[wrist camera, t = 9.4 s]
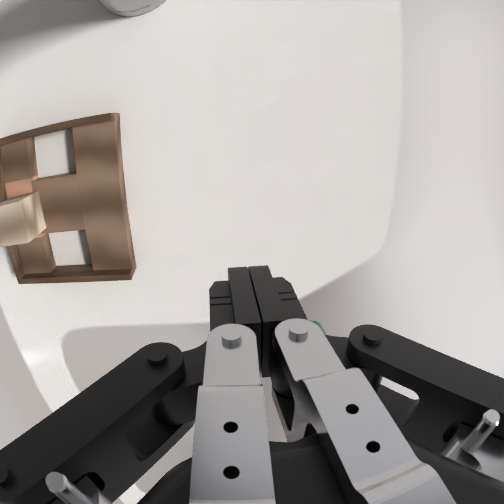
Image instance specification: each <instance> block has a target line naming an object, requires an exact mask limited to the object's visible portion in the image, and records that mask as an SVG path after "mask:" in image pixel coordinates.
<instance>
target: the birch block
mask: <svg viewBox="0 0 504 504" xmlns="http://www.w3.org/2000/svg"><path fill="white" fill-rule="evenodd" d="M45 229H46V224H45V220H44V215H43V211H42V206H41V201H40V196H39V191H35V192H30V193H26V194H22V195H18V196H14V197H10V198H8V199H6V200H5V201H3V202H1V203H0V247H4V246H11V245H17V244H24V243H29V242H30V241H31V240H33V239H34V238H35V237H36V236H37V235H39V234H40V233H41V232H42V231H43V230H45Z"/></svg>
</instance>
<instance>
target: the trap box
mask: <svg viewBox="0 0 504 504" xmlns="http://www.w3.org/2000/svg"><path fill="white" fill-rule="evenodd" d="M69 128H72V130H73V143H74V155H75V164H76V172H74V173H68V174H62V175H56V176H50V177H44V178H39V179H38V172H37V164H36V155H35V145H34V136H38V135H42V134H46V133H50V132H55V131H59V130H64V129H69ZM35 191H39V196H40V201H41V206H42V211H43V215H44V220H45V224H46V229H45V230H43V231H42V232H41V233H40V234H39V235H37V236H36V237H35V238H34V239H33V240H31V241H30V242H29V243H24V244H17V245H11V246H8V250H9V254H10V257H11V261H12V264H13V267H14V271H15V274H16V277H17V280H18V283H19V284H34V283H66V282H93V281H117V280H131V279H132V276H133V274H134V272H135V269H136V262H135V256H134V250H133V244H132V237H131V231H130V224H129V216H128V209H127V201H126V192H125V183H124V173H123V162H122V150H121V135H120V115H119V113H108V114H102V115H96V116H90V117H85V118H80V119H75V120H70V121H65V122H61V123H56V124H52V125H48V126H44V127H40V128H36V129H32V130H28V131H25V132H21V133H18V134H14V135H11V136H7V137H4V138H1V139H0V203H1V202H3V201H5V200H6V199H8V198H10V197H14V196H18V195H22V194H26V193H30V192H35ZM74 230H85V232H86V237H87V242H88V247H89V251H90V256H91V261H92V264H87V265H69V266H56V263H55V260H54V256H53V252H52V248H51V243H50V239H49V235H48V233H53V232H64V231H74Z"/></svg>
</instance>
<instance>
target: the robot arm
mask: <svg viewBox="0 0 504 504" xmlns="http://www.w3.org/2000/svg"><path fill="white" fill-rule="evenodd" d="M99 1H100V2H101V3H102V4H103V5H104V6H105V7H106V8H107V9H108V10H109V11H111V12H112V13H114V14H117V15H120V16H127V17H129V16H138V15H142V14H145V13H147V12H150V11H152V10H154V9H155V8H157V7H159V6H160V5H161V4H162V3H163V2H165V1H166V0H99ZM209 295H210V333H209V335H208V338H207V341H206V342H205V343H204V344H202V345H201V346H199V347H197V348H195V349H192V350H188V351H185V352H181V350H180V349H179V348H178V347H177V346H175V345H172V344H170V343H164V342H163V343H162V342H159V343H152V344H149V345H146V346H144V347H143V348H141V349H140V350H139V351H137V352H136V353H134V354H133V355H132V356H130V357H129V358H127V359H126V360H125V361H123V362H122V363H121V364H119V365H118V366H116V367H115V368H114V369H113V370H111V371H110V372H108V373H107V374H106V375H104V376H103V377H101V378H100V379H99V380H97V381H96V382H95V383H93V384H92V385H90V386H89V387H88V388H86V389H85V390H84V391H82V392H81V393H79V394H78V395H77V396H75V397H74V398H73V399H71V400H70V401H68V402H67V403H66V404H64V405H63V406H61V407H60V408H59V409H57V410H56V411H55V412H53V413H52V414H50V415H49V416H48V417H46V418H45V419H43V420H42V421H41V422H40V423H38V424H36V425H35V426H34V427H32V428H31V429H29V430H28V431H27V432H25V433H24V434H22V435H21V436H20V437H18V438H17V439H15V440H14V441H13V442H11V443H10V444H8V445H7V446H5V447H4V448H3V449H1V450H0V504H112V503H113V502H114V501H115V500H116V499H117V498H118V497H119V496H121V495H122V494H123V493H124V492H125V491H126V490H127V489H128V488H129V487H131V486H132V485H133V484H134V483H135V482H136V481H137V480H138V479H139V478H140V477H141V476H142V475H144V474H145V473H146V472H147V471H148V470H149V469H150V468H151V467H152V466H153V465H154V464H155V463H156V462H157V461H158V460H159V459H160V458H161V457H162V456H164V454H166V453H167V452H168V451H169V449H171V448H172V446H174V445H175V444H176V443H177V442H178V441H179V440H180V439H181V438H182V437H183V436H184V435H185V434H186V433H187V432H188V430H190V429H191V427H192V426H193V425H194V423H195V431H194V443H193V456H192V458H189V459H187V460H185V461H183V462H181V463H180V464H178V465H176V466H175V467H173V468H172V469H171V470H170V471H168V472H167V473H166V474H165V475H164V476H163V477H162V478H161V479H160V480H159V481H158V482H157V483H156V484H155V486H153V488H152V489H151V490H150V491H149V492H148V493H147V494H146V495H145V496H144V497H143V498H142V499H141V500H140V501H139V502H138V503H137V504H504V379H503V378H501V377H499V376H496V375H494V374H491V373H489V372H486V371H484V370H481V369H479V368H477V367H474V366H471V365H469V364H467V363H464V362H462V361H460V360H457V359H455V358H452V357H450V356H447V355H445V354H443V353H441V352H438V351H436V350H433V349H431V348H429V347H426V346H424V345H422V344H419V343H417V342H414V341H412V340H410V339H407V338H405V337H403V336H400V335H398V334H395V333H393V332H391V331H389V330H386V329H384V328H382V327H379V326H375V325H360V326H358V327H356V328H354V329H353V330H352V331H351V332H350V335H349V338H346V337H334V336H328V335H325V334H323V332H322V330H321V329H320V327H319V326H318V325H317V324H315V323H314V322H312V321H309V320H307V317H306V315H305V313H304V311H303V309H302V307H301V304H300V302H299V300H298V299H297V296H296V294H295V293H294V289H293V287H292V285H291V283H289V282H288V281H287V280H285V279H284V278H283V277H277V278H272V275H271V273H270V270H269V267H268V266H250V267H248V268H247V267H235V268H228V281H216V282H214V283H213V285H212V286H211V288H210V289H209ZM260 369H261V374H262V377H271V381H272V397H273V401H274V404H275V406H276V409H277V412H278V415H279V418H280V421H281V424H282V427H283V429H284V432H285V435H286V438H287V443H286V442H271V441H269V439H268V430H267V420H266V411H265V401H264V392H263V385H262V384H261V383H260ZM382 377H385V378H387V379H389V380H391V381H393V382H396V383H398V384H400V385H402V386H404V387H407V388H408V389H411V390H413V391H414V392H416V393H417V395H418V396H419V399H418V400H413V399H410V398H408V397H406V396H404V395H402V394H400V393H397V392H395V391H393V390H391V389H389V388H387V387H385V386H383V385H381V384H380V382H381V380H382Z"/></svg>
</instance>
